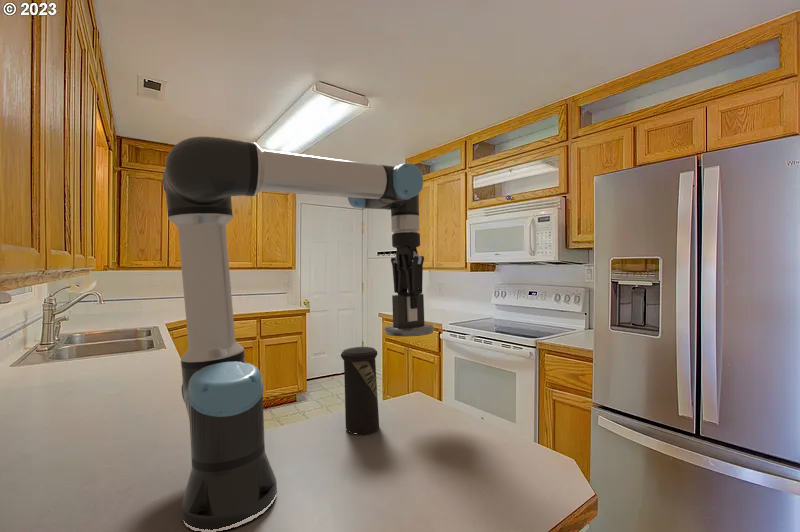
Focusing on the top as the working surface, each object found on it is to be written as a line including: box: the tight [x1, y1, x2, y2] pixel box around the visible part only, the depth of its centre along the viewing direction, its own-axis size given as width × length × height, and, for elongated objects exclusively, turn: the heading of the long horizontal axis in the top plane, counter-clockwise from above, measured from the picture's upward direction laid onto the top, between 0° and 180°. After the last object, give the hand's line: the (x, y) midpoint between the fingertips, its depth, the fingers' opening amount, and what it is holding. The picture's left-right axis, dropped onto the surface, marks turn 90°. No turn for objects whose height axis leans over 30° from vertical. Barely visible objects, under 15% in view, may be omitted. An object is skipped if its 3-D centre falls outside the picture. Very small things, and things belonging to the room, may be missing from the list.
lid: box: [384, 293, 434, 338], centre depth 104 cm, size 13×13×10 cm
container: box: [340, 346, 380, 435], centre depth 97 cm, size 9×9×20 cm
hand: (408, 320), depth 104 cm, fingers closed on lid, 3 cm apart
